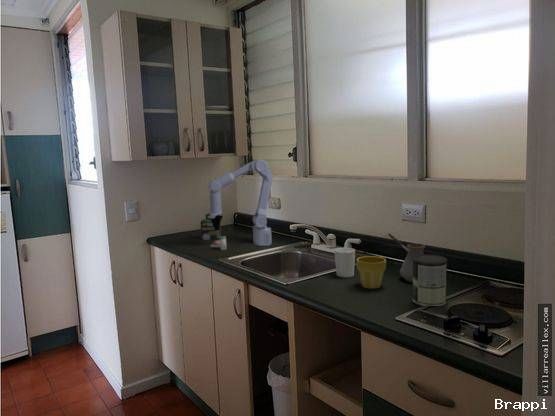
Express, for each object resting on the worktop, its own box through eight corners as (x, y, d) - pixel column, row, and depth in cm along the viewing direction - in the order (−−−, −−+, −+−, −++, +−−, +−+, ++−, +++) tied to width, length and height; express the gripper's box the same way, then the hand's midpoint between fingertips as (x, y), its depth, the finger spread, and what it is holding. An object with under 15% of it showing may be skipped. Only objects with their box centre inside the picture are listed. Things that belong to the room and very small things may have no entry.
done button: (221, 244, 227) (221, 240, 227) (220, 246, 224) (219, 241, 224) (215, 244, 228) (215, 240, 228) (214, 246, 225) (213, 241, 224)
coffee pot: (439, 281, 160) (439, 240, 158) (415, 286, 155) (415, 244, 153) (398, 267, 179) (399, 231, 177) (376, 271, 174) (376, 234, 172)
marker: (227, 249, 218) (226, 236, 217) (225, 250, 215) (224, 237, 214) (221, 249, 219) (220, 236, 218) (219, 251, 216) (218, 237, 215)
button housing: (225, 246, 229) (224, 243, 229) (222, 248, 223) (222, 245, 223) (213, 246, 230) (213, 243, 229) (210, 248, 224) (210, 245, 224)
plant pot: (368, 279, 165) (368, 254, 163) (391, 285, 157) (392, 259, 155) (350, 285, 158) (350, 259, 157) (374, 292, 150) (373, 264, 149)
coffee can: (405, 299, 142) (405, 257, 140) (428, 293, 147) (428, 252, 145) (429, 309, 133) (430, 264, 131) (453, 302, 138) (454, 259, 136)
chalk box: (221, 237, 250) (220, 212, 248) (217, 241, 241) (216, 214, 239) (205, 238, 251) (204, 212, 249) (201, 241, 242) (199, 215, 240)
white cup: (331, 273, 174) (331, 249, 172) (348, 271, 176) (348, 246, 175) (341, 279, 166) (340, 253, 165) (359, 276, 169) (359, 250, 168)
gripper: (212, 202, 231) (213, 227, 233) (203, 205, 217) (205, 232, 218) (225, 201, 230) (226, 227, 232) (217, 205, 216) (219, 232, 217)
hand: (217, 230), depth 225 cm, fingers closed
